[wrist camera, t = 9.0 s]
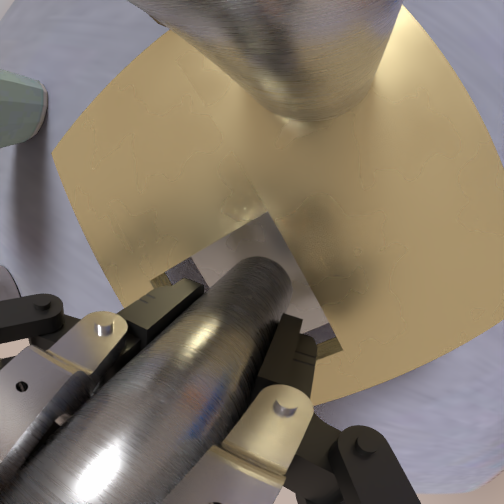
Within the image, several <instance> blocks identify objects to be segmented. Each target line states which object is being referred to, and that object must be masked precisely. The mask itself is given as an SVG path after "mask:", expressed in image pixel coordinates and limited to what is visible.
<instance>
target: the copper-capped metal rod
mask: <svg viewBox="0 0 504 504" xmlns="http://www.w3.org/2000/svg"><path fill="white" fill-rule="evenodd" d="M291 297H292V284H291V280H290V278H289V275H288V274H287V272H286V271H285V270H284V268H283V267H282V266H281V265H280V264H278V263H277V262H275V261H273V260H271V259H269V258H266V257H260V256H253V257H248V258H245V259H243V260H241V261H239V262H238V263H237V264H236V265H235V266H233V267H232V268H231V269H230V270H229V271H228V272H227V273H226V274H225V275H224V276H222V277H221V278H220V279H219V280H218V281H217V282H216V283H215V284H214V285H213V286H212V287H210V288H209V289H208V290H207V291H206V292H205V293H204V294H203V295H202V296H201V297H199V298H198V299H197V300H196V301H195V302H194V303H193V304H192V305H191V306H190V307H189V308H187V309H186V310H185V311H184V312H183V313H182V314H181V315H180V316H179V317H178V318H176V319H175V320H174V321H173V322H172V323H171V324H170V325H169V326H168V327H167V328H166V329H164V330H163V331H162V332H161V333H160V334H159V335H158V336H157V337H156V338H155V339H154V340H152V341H151V342H150V343H149V344H148V345H147V346H146V347H145V348H144V349H143V350H141V351H140V352H139V353H138V354H137V355H136V356H135V357H134V358H133V359H132V360H131V361H129V362H128V363H127V364H126V365H125V366H124V367H123V368H122V369H121V370H120V371H119V372H117V373H116V374H115V375H114V376H113V377H112V378H111V379H110V380H109V381H108V382H107V383H105V384H104V385H103V386H102V387H101V388H100V389H99V390H98V391H97V392H96V393H95V394H94V395H92V396H91V397H90V398H89V399H88V400H87V401H86V402H85V403H84V404H83V405H82V406H80V407H79V408H78V409H77V410H76V411H75V412H74V413H73V414H72V415H71V416H70V417H68V418H67V419H66V420H65V421H64V422H63V423H62V424H61V425H60V427H59V428H58V429H57V430H56V431H55V432H54V433H53V434H52V435H50V436H49V437H48V439H47V441H46V442H45V443H44V444H43V445H42V446H41V447H40V448H39V449H37V450H36V451H35V452H34V453H33V454H32V455H31V456H30V457H29V458H28V459H27V460H26V461H25V462H24V464H23V465H22V466H21V468H20V469H19V471H18V472H17V474H16V475H15V476H14V477H13V478H12V479H11V481H10V482H9V483H8V484H7V485H6V487H5V488H4V489H3V490H2V492H1V493H0V504H159V503H160V502H161V501H162V500H163V499H164V498H165V497H166V496H167V495H168V494H169V493H170V492H171V491H172V490H173V489H174V487H175V486H176V485H177V484H178V483H179V482H180V481H181V480H182V479H183V478H184V477H185V476H186V474H187V473H188V472H189V471H190V470H191V469H192V468H193V467H194V466H195V464H196V463H197V462H198V461H199V460H200V459H201V458H202V456H203V455H204V454H205V453H206V452H207V451H208V450H209V449H210V448H211V447H212V446H213V445H214V444H215V443H219V444H220V443H221V442H222V441H223V440H224V439H225V438H226V437H227V435H228V434H229V433H230V432H231V430H232V429H233V428H234V426H235V425H236V424H237V423H238V421H239V420H240V419H241V417H242V416H243V415H244V413H245V412H246V411H247V409H248V407H249V404H250V401H251V392H252V389H253V387H254V384H255V381H256V378H257V376H258V373H259V371H260V368H261V366H262V364H263V361H264V359H265V356H266V354H267V352H268V349H269V347H270V344H271V342H272V339H273V337H274V334H275V332H276V329H277V327H278V324H279V322H280V319H281V317H282V314H283V313H285V314H286V311H287V308H288V306H289V303H290V300H291Z"/></svg>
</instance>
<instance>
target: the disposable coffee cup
mask: <svg viewBox="0 0 504 504" xmlns="http://www.w3.org/2000/svg"><path fill="white" fill-rule="evenodd" d="M46 109H47V91H46V89H45V87H44V85H43V84H40V82H39V81H37V80H34V79H31V78H28V77H25V76H22V75H18V74H15V73H12V72H9V71H5V70H2V69H0V148H2V147H6V146H10V145H14V144H18V143H22V142H25V141H26V140H27V139H30V138H32V137H33V136H34V135H36V134H37V133H38V131H39V129H40V127H41V125H42V123H43V121H44V117H45V113H46Z"/></svg>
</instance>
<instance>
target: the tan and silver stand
mask: <svg viewBox="0 0 504 504" xmlns="http://www.w3.org/2000/svg"><path fill="white" fill-rule="evenodd" d="M127 1H129V2H130V3H132V4H134V5H135V6H137V7H138V8H140V9H141V10H143V11H144V12H146V13H147V14H149V15H150V16H152V17H153V18H155V19H156V20H158V21H159V22H160V23H162V24H163V25H165V26H166V27H167V28H169V29H170V30H169V31H167V32H166V33H165V34H163V35H162V36H161V37H160V38H158V39H157V40H156V41H155V42H154V43H152V44H151V45H150V46H149V47H148V48H146V49H145V50H144V51H143V52H142V53H141V54H140V55H138V56H137V57H136V58H135V59H134V60H133V61H132V62H131V63H130V64H129V65H128V66H126V67H125V68H124V69H123V70H122V71H121V72H120V73H119V74H118V75H117V76H116V77H115V78H114V79H113V80H112V81H111V82H110V83H109V84H108V85H107V86H106V87H105V88H104V89H103V91H102V92H101V93H100V94H99V95H98V96H97V97H96V98H95V99H94V100H93V101H92V103H91V104H90V105H89V106H88V107H87V108H86V109H85V111H84V112H83V113H82V114H81V115H80V116H79V118H78V119H77V120H76V121H75V123H74V124H73V125H72V126H71V128H70V129H69V130H68V131H67V133H66V134H65V135H64V137H63V138H62V139H61V140H60V142H59V143H58V145H57V146H56V147H55V149H54V150H53V151H52V153H51V154H52V157H53V160H54V162H55V165H56V168H57V171H58V173H59V176H60V179H61V181H62V184H63V186H64V189H65V191H66V194H67V196H68V199H69V201H70V203H71V206H72V208H73V210H74V213H75V215H76V217H77V219H78V222H79V224H80V226H81V228H82V230H83V232H84V234H85V237H86V239H87V241H88V243H89V245H90V247H91V249H92V251H93V253H94V255H95V257H96V259H97V261H98V263H99V264H100V266H101V268H102V270H103V272H104V274H105V276H106V277H107V279H108V281H109V283H110V285H111V286H112V288H113V290H114V292H115V293H116V295H117V297H118V299H119V300H120V302H121V304H122V305H123V307H124V308H126V307H127V306H129V305H130V304H132V303H133V302H135V301H136V300H139V298H141V297H142V296H144V295H146V294H147V293H148V292H150V291H151V290H153V289H155V288H158V287H162V286H166V285H168V286H172V284H171V282H170V281H169V279H168V277H167V276H166V274H165V272H166V271H167V270H169V269H171V268H172V267H174V266H176V265H177V264H179V263H181V262H182V261H184V260H186V259H187V258H189V257H191V258H192V259H193V261H194V263H195V265H196V266H197V268H198V270H199V271H200V273H201V275H202V276H203V278H204V280H205V281H206V283H207V285H208V286H209V288H210V287H212V286H213V285H214V284H215V283H216V282H217V281H218V280H219V279H220V278H221V277H222V276H224V275H225V274H226V273H227V272H228V271H229V270H230V269H231V268H232V267H233V266H235V265H236V264H237V263H238V262H239V261H241V260H243V259H245V258H248V257H253V256H260V257H266V258H269V259H271V260H273V261H275V262H277V263H278V264H280V265H281V266H282V267H283V268H284V270H285V271H286V272H287V274H288V275H289V278H290V280H291V284H292V297H291V300H290V303H289V306H288V308H287V311H286V314H288V315H291V316H294V317H298V318H301V319H303V322H302V326H301V330H300V333H301V334H303V333H305V332H308V331H310V330H313V329H315V328H318V327H320V326H322V325H325V324H327V323H330V325H331V327H332V329H333V331H334V333H335V335H336V337H335V338H332V339H330V340H327V341H325V342H322V343H320V344H317V347H318V350H317V357H316V364H315V371H314V377H313V384H312V390H311V396H310V400H311V402H312V404H313V406H316V405H319V404H323V403H326V402H329V401H332V400H336V399H339V398H342V397H345V396H348V395H351V394H353V393H356V392H359V391H362V390H365V389H367V388H370V387H373V386H375V385H378V384H380V383H383V382H385V381H388V380H390V379H393V378H395V377H398V376H400V375H402V374H405V373H407V372H409V371H411V370H413V369H416V368H418V367H420V366H422V365H424V364H426V363H428V362H430V361H432V360H435V359H437V358H438V357H440V356H442V355H444V354H446V353H448V352H450V351H452V350H454V349H456V348H457V347H459V346H461V345H463V344H465V343H466V342H468V341H470V340H472V339H473V338H475V337H477V336H478V335H480V334H482V333H483V332H485V331H487V330H488V329H490V328H491V327H493V326H494V325H496V324H497V323H499V322H501V321H502V320H504V168H503V166H502V163H501V161H500V158H499V156H498V153H497V151H496V148H495V146H494V144H493V141H492V139H491V137H490V135H489V133H488V130H487V128H486V126H485V124H484V122H483V120H482V118H481V116H480V114H479V112H478V110H477V109H476V107H475V105H474V103H473V101H472V99H471V98H470V96H469V94H468V92H467V91H466V89H465V87H464V86H463V84H462V82H461V81H460V79H459V78H458V76H457V74H456V73H455V71H454V70H453V68H452V67H451V65H450V64H449V62H448V61H447V59H446V58H445V57H444V55H443V54H442V52H441V51H440V50H439V48H438V47H437V46H436V44H435V43H434V42H433V40H432V39H431V38H430V36H429V35H428V34H427V33H426V31H425V30H424V29H423V28H422V26H421V25H420V24H419V23H418V22H417V21H416V19H415V18H414V17H413V16H412V15H411V14H410V13H409V11H408V10H407V9H406V8H405V7H404V6H403V5H402V4H403V1H404V0H127Z"/></svg>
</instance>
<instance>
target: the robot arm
mask: <svg viewBox="0 0 504 504" xmlns="http://www.w3.org/2000/svg"><path fill="white" fill-rule="evenodd" d="M203 294H204V285H203V284H200V283H197V282H195V281H192V280H189V279H187V278H183V279H181V280H180V281H179V282H177V283H176V284H174V285H173V286H168V285H166V286H162V287H158V288H155V289H153V290H151V291H150V292H148V293H147V294H146V295H144V296H142V297H141V298H139V300H136V301H135V302H133V303H132V304H130V305H129V306H127V307H126V308H124V309H123V310H121V311H120V312H118V313H117V314H115V313H111V312H105V311H99V312H93V313H90V314H88V315H86V316H85V317H84V318H83V319H82V320H81V319H78V318H74V317H71V316H68V315H65V314H64V310H63V303H62V301H61V300H60V299H59V298H58V297H56V296H54V295H51V294H36V295H30V296H25V297H20V295H19V292H18V290H17V287H16V285H15V283H14V281H13V279H12V277H11V275H10V273H9V272H8V271H7V269H6V268H5V267H3V266H1V265H0V344H2V343H7V342H11V341H16V340H20V339H25V338H28V339H29V343H30V346H28V347H26V348H25V349H24V350H22V351H21V352H20V353H19V354H18V355H17V356H13V357H9V358H4V359H0V493H1V492H2V490H3V489H4V488H5V487H6V485H7V484H8V483H9V482H10V481H11V479H12V478H13V477H14V476H15V475H16V474H17V472H18V471H19V469H20V468H21V466H22V465H23V464H24V462H25V461H26V460H27V459H28V458H29V457H30V456H31V455H32V454H33V453H34V452H35V451H36V450H37V449H39V448H40V447H41V446H42V445H43V444H44V443H45V442H46V441H47V439H48V437H49V436H50V435H52V434H53V433H54V432H55V431H56V430H57V429H58V428H59V427H60V425H61V424H62V423H63V422H64V421H65V420H66V419H67V418H68V417H70V416H71V415H72V414H73V413H74V412H75V411H76V410H77V409H78V408H79V407H80V406H82V405H83V404H84V403H85V402H86V401H87V400H88V399H89V398H90V397H91V396H92V395H94V394H95V393H96V392H97V391H98V390H99V389H100V388H101V387H102V386H103V385H104V384H105V383H107V382H108V381H109V380H110V379H111V378H112V377H113V376H114V375H115V374H116V373H117V372H119V371H120V370H121V369H122V368H123V367H124V366H125V365H126V364H127V363H128V362H129V361H131V360H132V359H133V358H134V357H135V356H136V355H137V354H138V353H139V352H140V351H141V350H143V349H144V348H145V347H146V346H147V345H148V344H149V343H150V342H151V341H152V340H154V339H155V338H156V337H157V336H158V335H159V334H160V333H161V332H162V331H163V330H164V329H166V328H167V327H168V326H169V325H170V324H171V323H172V322H173V321H174V320H175V319H176V318H178V317H179V316H180V315H181V314H182V313H183V312H184V311H185V310H186V309H187V308H189V307H190V306H191V305H192V304H193V303H194V302H195V301H196V300H197V299H198V298H199V297H201V296H202V295H203ZM302 322H303V319H301V318H298V317H294V316H291V315H288V314H285V313H283V314H282V317H281V319H280V322H279V324H278V327H277V329H276V332H275V334H274V337H273V339H272V342H271V344H270V347H269V349H268V352H267V354H266V356H265V359H264V361H263V364H262V366H261V368H260V371H259V373H258V376H257V378H256V381H255V384H254V387H253V389H252V392H251V401H250V404H249V407H248V409H247V411H246V412H245V413H244V415H243V416H242V417H241V419H240V420H239V421H238V423H237V424H236V425H235V426H234V428H233V429H232V430H231V432H230V433H229V434H228V435H227V437H226V438H225V439H224V440H223V441H222V442H221V443H220V444H219V443H215V444H214V445H213V446H212V447H211V448H210V449H209V450H208V451H207V452H206V453H205V454H204V455H203V456H202V458H201V459H200V460H199V461H198V462H197V463H196V464H195V466H194V467H193V468H192V469H191V470H190V471H189V472H188V473H187V474H186V476H185V477H184V478H183V479H182V480H181V481H180V482H179V483H178V484H177V485H176V486H175V487H174V489H173V490H172V491H171V492H170V493H169V494H168V495H167V496H166V497H165V498H164V499H163V500H162V501H161V502H160V503H159V504H273V503H274V501H275V499H276V497H277V495H278V494H279V492H280V490H281V488H282V486H284V487H286V488H287V489H289V490H291V491H293V492H295V493H296V499H297V502H298V504H421V503H420V501H419V499H418V497H417V495H416V493H415V491H414V489H413V488H412V486H411V484H410V482H409V480H408V478H407V476H406V475H405V473H404V471H403V469H402V467H401V465H400V464H399V462H398V460H397V458H396V456H395V454H394V453H393V451H392V449H391V447H390V445H389V444H388V442H387V440H386V439H385V438H384V436H383V435H382V434H380V433H379V432H378V431H376V430H374V429H372V428H370V427H367V426H360V425H357V426H351V427H348V428H346V429H345V430H343V431H342V432H341V431H339V430H338V429H336V428H334V427H332V426H330V425H328V424H326V423H325V422H323V421H322V420H321V419H320V418H319V417H318V416H317V415H316V414H315V413H314V408H313V404H312V402H311V400H310V396H311V390H312V384H313V377H314V371H315V364H316V357H317V350H318V347H317V345H316V343H315V340H314V338H313V337H310V336H307V335H304V334H301V333H300V330H301V326H302Z"/></svg>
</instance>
